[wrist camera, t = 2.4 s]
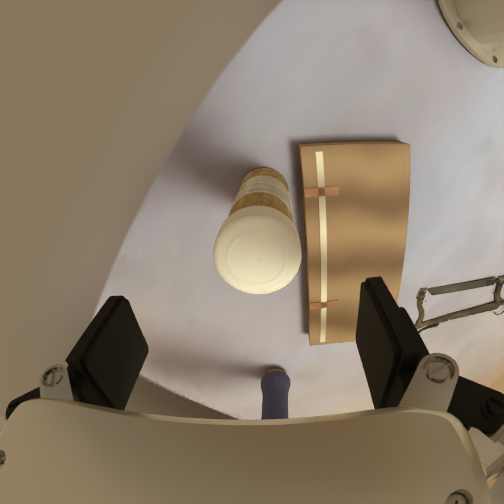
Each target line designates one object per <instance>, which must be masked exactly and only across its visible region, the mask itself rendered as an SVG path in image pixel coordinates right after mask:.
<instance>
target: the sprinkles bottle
mask: <svg viewBox="0 0 504 504" xmlns="http://www.w3.org/2000/svg"><path fill="white" fill-rule="evenodd" d="M213 254H214V262H215V265H216V268H217V270H218V272H219V274H220V275H221V276H222V278H223V279H224V280H225V281H226V282H227V283H228V284H230V285H231V286H232V287H234V288H236V289H238V290H240V291H243V292H246V293H251V294H266V293H270V292H274V291H276V290H279V289H281V288H282V287H284V286H285V285H287V284H288V283H289V282H290V281H291V280H292V279H293V278H294V276H295V275H296V273H297V271H298V269H299V267H300V263H301V256H302V254H301V244H300V239H299V234H298V231H297V229H296V227H295V225H294V224H293V217H292V206H291V201H290V196H289V190H288V185H287V182H286V181H285V179H284V177H283V176H282V175H281V174H279V173H278V172H277V171H275V170H273V169H269V168H259V169H256V170H253V171H251V172H250V173H248V174H247V175H246V177H245V178H244V179H243V181H242V183H241V185H240V189H239V191H238V193H237V195H236V198H235V200H234V203H233V205H232V207H231V210H230V212H229V216H228V218H227V219H226V220H225V221H224V223H223V224H222V226H221V228H220V230H219V233H218V235H217V238H216V242H215V245H214V253H213Z"/></svg>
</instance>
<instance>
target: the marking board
mask: <svg viewBox="0 0 504 504" xmlns="http://www.w3.org/2000/svg"><path fill="white" fill-rule="evenodd" d="M298 146H299V156H300V167H301V179H302V192H303V205H304V221H305V238H306V258H307V284H308V331H309V342H310V346H311V345H322V344H331V343H341V342H349V341H356V327H357V318H358V309H359V299H360V287H361V283H362V282H365V280H366V278H369V277H378V276H381V277H382V279H383V281H384V282H385V284H386V286H387V287H388V289H389V291H390V293H391V294H392V296H393V298H394V300H395V301H396V303H397V300H398V295H399V289H400V283H401V276H402V269H403V262H404V254H405V246H406V236H407V226H408V213H409V196H410V144H407V143H404V142H387V141H367V142H330V143H312V144H298Z"/></svg>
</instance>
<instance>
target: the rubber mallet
mask: <svg viewBox="0 0 504 504" xmlns="http://www.w3.org/2000/svg"><path fill="white" fill-rule="evenodd" d="M289 388H290V379H289V377H288V376H287V374H286V373H285V371H283V370H282V369H278V368H276V369H270V370H268V371H267V372H266V374H265V375H264V376H263V377H262V380H261V389H262V393H263V403H262V418H261V420H269V419H288V391H289Z"/></svg>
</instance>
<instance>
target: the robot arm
mask: <svg viewBox="0 0 504 504" xmlns="http://www.w3.org/2000/svg"><path fill="white" fill-rule="evenodd" d="M438 3H439V6H440V9H441V11H442V13H443V16H444V18H445V20H446V21H447V23H448V25H449V27H450V28H451V30H452V31H453V33H454V34H455V36H456V37H457V38H458V40H459V41H460V42H461V43H462V45H463V46H464V47H465V48H466V49H467V50H468V51H469V52H470V53H471V54H473V55H474V56H475V57H476V58H477V59H479V60H480V61H482V62H484V63H485V64H487V65H490V66H492V67H498V68H503V67H504V0H438ZM356 344H357V348H358V351H359V354H360V358H361V361H362V364H363V368H364V371H365V375H366V378H367V382H368V386H369V389H370V393H371V397H372V401H373V404H374V408H375V409H373V410H365V411H357V412H350V413H343V414H334V415H325V416H314V417H303V418H289V419H269V420H216V419H195V418H181V417H171V416H161V415H153V414H145V413H137V412H131V411H125V410H124V409H125V406H126V404H127V402H128V399H129V397H130V394H131V392H132V389H133V387H134V385H135V382H136V380H137V378H138V375H139V373H140V371H141V368H142V366H143V364H144V361H145V359H146V357H147V355H148V345H147V342H146V340H145V338H144V336H143V334H142V331H141V329H140V327H139V325H138V322H137V320H136V318H135V315H134V313H133V310H132V308H131V305H130V303H129V301H128V300H127V299H125V297H124V296H110V297H109V298H108V300H107V301H106V302H105V304H104V305H103V306H102V308H101V309H100V310H99V312H98V313H97V315H96V316H95V317H94V319H93V320H92V322H91V323H90V324H89V326H88V327H87V329H86V330H85V332H84V333H83V335H82V336H81V337H80V339H79V340H78V342H77V343H76V345H75V346H74V348H73V349H72V351H71V352H70V354H69V355H68V357H67V358H66V362H67V363H68V367H67V368H66V367H65V366H64V365H61V364H55V365H52V366H50V367H48V368H47V369H46V370H45V371H44V372H43V373H42V375H41V377H40V381H39V385H40V387H38V388H36V389H34V390H32V391H30V392H28V393H26V394H24V395H22V396H20V397H18V398H16V399H14V400H12V401H11V402H10V403H9V405H8V407H7V410H6V417H5V416H4V415H3V416H1V417H0V504H504V394H502V393H501V392H499V391H496V390H493V389H491V388H488V387H486V386H483V385H481V384H478V383H476V382H473V381H471V380H468V379H466V378H464V377H461V376H459V368H458V365H457V363H456V362H455V360H454V359H452V358H451V357H450V356H448V355H446V354H442V353H432V354H429V352H428V350H427V348H426V346H425V344H424V342H423V340H422V338H421V337H420V335H419V333H418V331H417V329H416V327H415V325H414V324H413V322H412V320H411V318H410V316H409V315H408V313H407V311H406V310H405V308H403V307H398V305H397V303H396V301H395V300H394V298H393V296H392V294H391V293H390V291H389V289H388V287H387V286H386V284H385V282H384V281H383V279H382V277H381V276H378V277H369V278H366V280H365V282H362V283H361V287H360V299H359V309H358V318H357V327H356ZM482 464H483V466H484V467H485V468H486V473H487V476H485V473H484V470H483V467H482Z"/></svg>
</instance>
